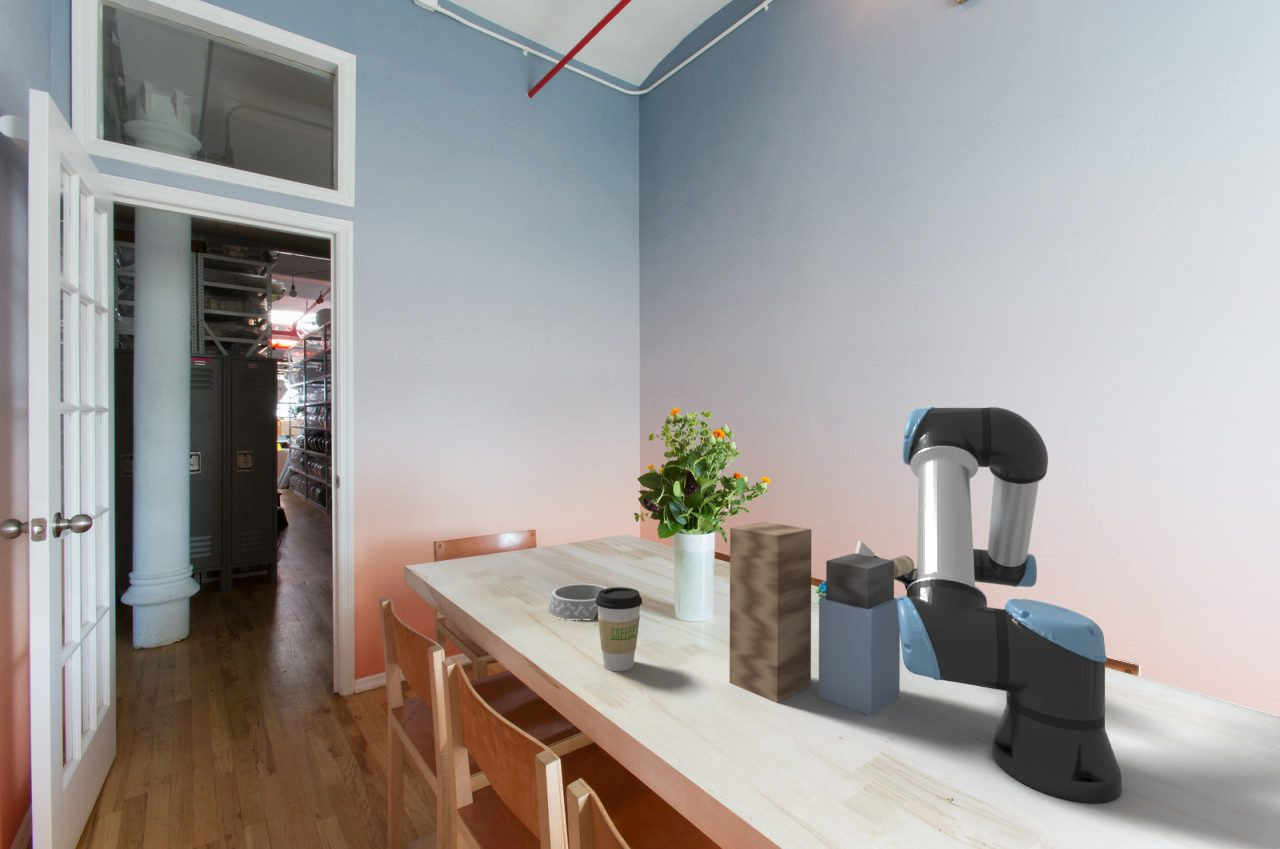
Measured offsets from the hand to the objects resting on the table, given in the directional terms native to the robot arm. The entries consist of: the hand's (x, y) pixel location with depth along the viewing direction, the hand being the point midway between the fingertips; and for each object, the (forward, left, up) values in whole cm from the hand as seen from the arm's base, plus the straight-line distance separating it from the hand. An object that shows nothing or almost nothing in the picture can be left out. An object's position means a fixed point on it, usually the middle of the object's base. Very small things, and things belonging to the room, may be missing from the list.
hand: (890, 552), depth 115 cm
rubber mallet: (0, +5, -7) cm, 9 cm away
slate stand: (0, +13, -25) cm, 28 cm away
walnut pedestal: (+14, +21, -25) cm, 35 cm away
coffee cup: (+40, +37, -25) cm, 60 cm away
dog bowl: (+75, +21, -25) cm, 82 cm away
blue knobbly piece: (+32, -35, -25) cm, 54 cm away
